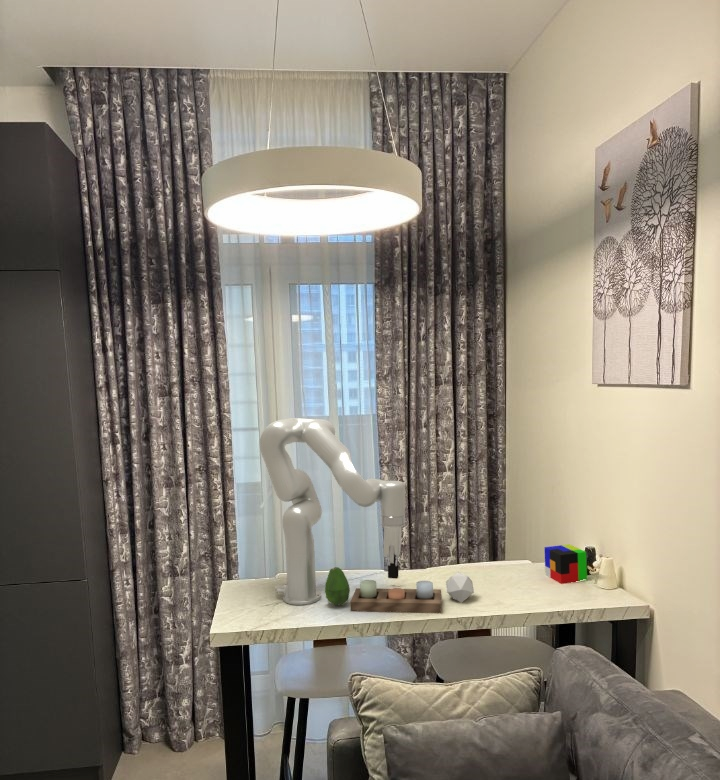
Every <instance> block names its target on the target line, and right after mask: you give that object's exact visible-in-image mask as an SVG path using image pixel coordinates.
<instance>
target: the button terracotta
mask: <svg viewBox="0 0 720 780" xmlns="http://www.w3.org/2000/svg"><path fill="white" fill-rule="evenodd" d="M388 589H389V590H388V598H389V599H405V590H404V589H405V588H401V587H392V588H388Z"/></svg>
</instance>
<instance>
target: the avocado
mask: <svg viewBox="0 0 720 780" xmlns="http://www.w3.org/2000/svg"><path fill="white" fill-rule="evenodd" d="M350 592H351V591H350V584H349V581H348V578H347V576H346V575H345V572H344V571H343V570H342V569H341V568H340V567H337V566H335V567H333V568H330V569H329V572H328V575H327V578H326V581H325V586H324V594H325V598H326V599H327V601H328V602H329V603H331V604H332V605H334V606H343V605H345V604H346V602H348V601H349V597H350Z"/></svg>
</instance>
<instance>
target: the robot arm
mask: <svg viewBox="0 0 720 780" xmlns="http://www.w3.org/2000/svg"><path fill="white" fill-rule="evenodd" d="M292 443H305V444H306V445H307V446H308V447H309V448H310V449H311V450H312V451H313V453H315V455H317V456H318V457H319V458H320V459H321V460H322V461H323V463H325V465H326V466H327V467H328V468H329V469H330V472H331V474H332V475H333V477H334V479H335V480H336V482H337V484H338V486H339V487H340V488H341V490H342V491H343V492H344V493H345V495H347V496H348V497H349V498H350V499H351V500H352V502H354V503H355V504H356V505H358V506H359V507H362V508H363V507H364V508H367V507H371V506H372V505H374V504H375V503H377V502H379V501H380V502H381V504H380V505H381V506H380V507H381V508H380V510H381V511H380V512H381V513H380V516H381V519H380V520H381V527H383V528H384V529H383V553H382V554H383V555H382V556H383V557H382V558H383V559H386V558H387V561H388V564H387V578H388V579H398V578H399V557H400V554H401V548H402V527H405V526H406V489H405V488H406V486H405V484H404V482H403V481H401V480H384V479H380V478H371V477H370V478H367V479H364V477H363V476H361V474H360V473H359V472H358V471H357V469H356V468H355V466H354V464H353V462H352V456H351V451H350V450H349V448H347V446H346V445H344V443H342V441H341V440H339V438H337V437H336V431H335V427H334V425H333V423H332V422H331V421H329V420H327V419H322V418H321V419H320V418H302V417H301V418H300V417H289V418H283V419H278V420H275V421H273V422H271V423H270V424H268V425H267V426H266V427H265V428H264V429H263V431H262V432H261V434H260V438H259V444H258V445H259V452H260V453H261V456H262V459H263V461H264V464H265V466H266V467H265V468H266V469H267V472H268V475H269V479H270V481H271V483H272V485H273V486H272V487H273V489H274V493H275V494H276V496H277V498H278V499H279V500H280V501H282V502H287V503H288V502H291V503H292V504H291V505H289V506H288V508H287V509H286V510H285V511H284V513H283V515H282V520H281V521H282V522H281V523H282V529H283V534H284V542H285V543H284V545H285V560H286V562H285V563H286V566H285V567H286V584H284V585H283V584H282V585H281V584H276V585H275V592H276V593H277V594H282V593H283V595H282V601H283V602H284V603H286V604H289V605H293V606H304V605H309V604H310V605H311V604H313V603H314V604H315V603H316V602H318V601H319V600H320V599H321V597H322V593H321V591H320V590H317V579H316V578H317V577H316V554H315V553H316V551H315V540H314V535H313V531H312V527H313V526H315V525H316V524H317V523H318V522H319V521H320V519H321V518H322V512H323V511H322V507H321V503H320V501H319V498H318V495H317V492H316V489H315V487H314V484H313V482H312V479H311V477H310V475H309V474H308V473H307V472H306V471H304V470H302V469H300V468H299V469H298V468H295V467H294V464H293V461H292V458H291V456H290V454H289V453H288V451H287V450H286V448H285V447H286V445H290V444H292Z"/></svg>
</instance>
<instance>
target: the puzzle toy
mask: <svg viewBox="0 0 720 780" xmlns="http://www.w3.org/2000/svg"><path fill="white" fill-rule="evenodd" d="M543 549H544V571H545V572H544V574H545V576H547V577H548V578H550V579H552V580H553V581H555V582H557V583H559V584H561V585H564V584H572V583H571V582H573V583H577V582H576V581H580V580H583V579H587V580H588V571H587V569H588V567H587V565H588V563H587V551H585V550H582V549H581V548H578V547H576V546H574V545H572V544H561V545H554V546H552V545H551V546H545V547H544V548H543Z"/></svg>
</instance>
